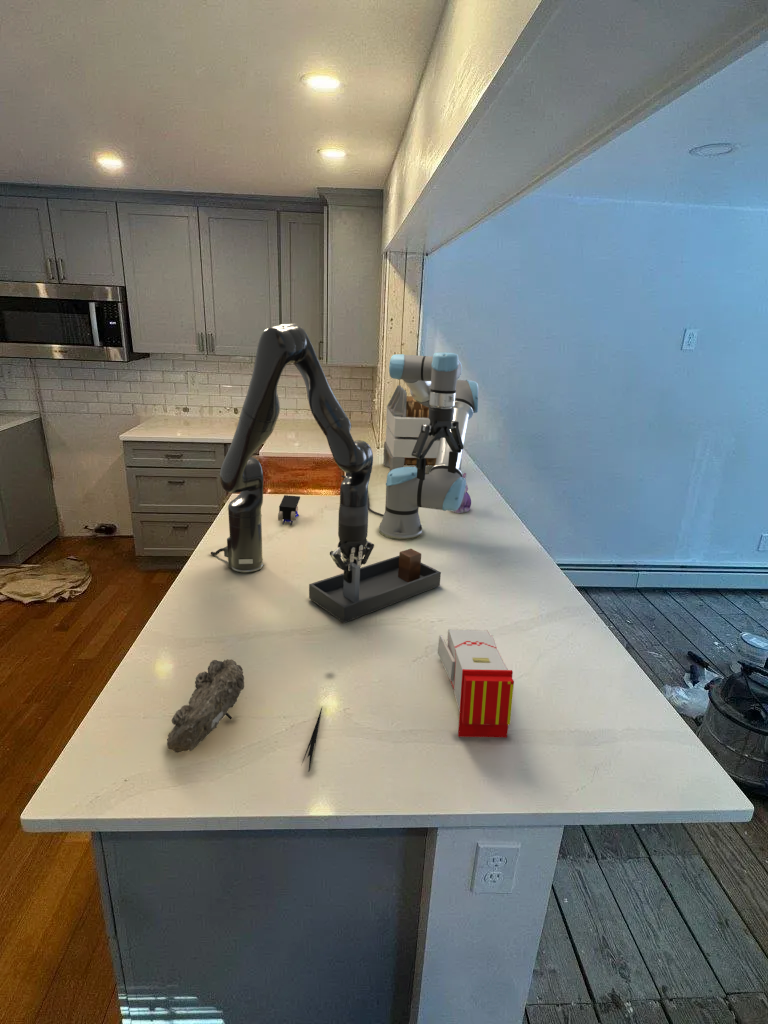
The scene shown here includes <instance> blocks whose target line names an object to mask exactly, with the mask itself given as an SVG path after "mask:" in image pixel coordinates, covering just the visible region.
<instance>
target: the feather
mask: <svg viewBox="0 0 768 1024" xmlns="http://www.w3.org/2000/svg"><path fill="white" fill-rule="evenodd" d="M329 675H330V676H331V675H332V674H331V673H330V674H329ZM322 710H323V707H321V708H320V710H319V713H318V716H317V719H316V723H315V725H314V728H313V731H312V733H311V737H310V739H309V742H308V745H307V748H306V751H305V754H304V757H303V760H302V763H301V767H302V765H303V763H304V761H305V758H308V759H309V760H308V762H307V763H308V764H307V766H308V771H310V770H311V766H312V765H311V764H312V760H313V757H315V756H314V755H315V751H316V749H315V746H317V739H318V733H319V729H320V722H321V717H322V712H323V711H322ZM313 754H314V755H313ZM306 755H307V757H306Z"/></svg>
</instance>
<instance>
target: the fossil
mask: <svg viewBox="0 0 768 1024" xmlns="http://www.w3.org/2000/svg"><path fill="white" fill-rule="evenodd" d="M243 670H244V669H243V667H242V665H240V664H237V662H236V661H235V660H234V659H232V658H231V659H227V658H226V659H224V660H223V661H222V660H217V659H212V660H211V661H210V663H209V665H208V666H207V671H201V672H199V673H198V674H197V675H196V676H195V680H194V684H195V685H194V687H195V689H194V690H193V693H192V694H191V697H190V698H189V700H188V704H184V705H182V706H181V707H180V709H177V710H176V711H175V713H174V715H173V716H172V718H171V723H172V724H173V727H172V730H171V731H170V732H168V734H167V738H166V741H167V742H166V745H167V749H168V750H169V751H173V752H174V753H176V754H178V753H182V752H188V751H189V752H192V751H193V750H195V748H196V747H197V746H199V744H200V743H201V742H203V741H204V740H205V739H206V738H207V737H208V736H209V735H210V734H211V733H212V732H214V730H215V729H217V727H218V726H219V724H220V722H221V721H222V720H223V719H224V718H225V716H226V717H227V719H229V720H233V717H232V715H230V714H229V710H230V709H231V708H234V706H235V704H236V703H237V702H238V699H239V697H240V695H241V693H242V691H243V690H245V689H244V688H245V675H244V671H243Z"/></svg>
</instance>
